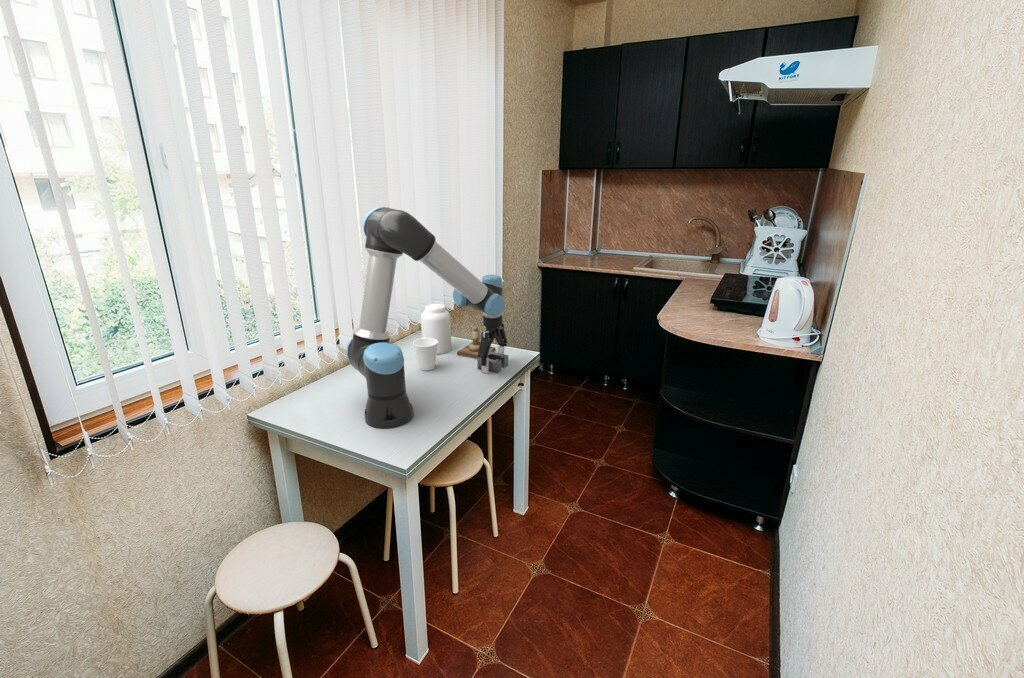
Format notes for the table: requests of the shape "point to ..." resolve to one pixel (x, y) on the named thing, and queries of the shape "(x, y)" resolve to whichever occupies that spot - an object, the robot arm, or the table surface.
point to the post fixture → (473, 346)
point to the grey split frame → (495, 362)
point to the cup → (425, 352)
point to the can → (437, 326)
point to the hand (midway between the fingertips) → (493, 366)
